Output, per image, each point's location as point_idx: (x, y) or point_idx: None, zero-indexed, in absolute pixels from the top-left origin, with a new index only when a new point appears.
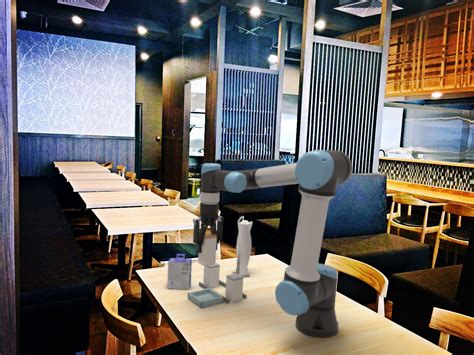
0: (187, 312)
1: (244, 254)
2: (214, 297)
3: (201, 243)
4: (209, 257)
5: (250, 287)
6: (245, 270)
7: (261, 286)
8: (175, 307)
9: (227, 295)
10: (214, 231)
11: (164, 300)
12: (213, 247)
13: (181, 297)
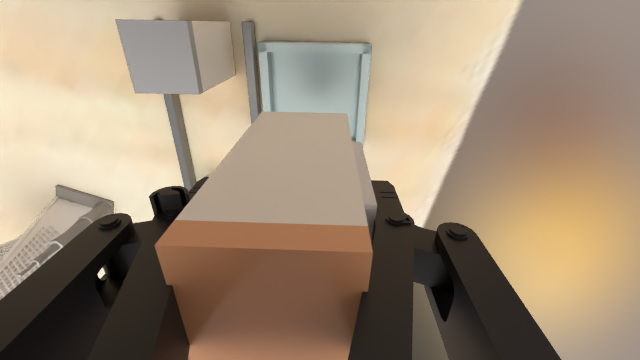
0: (432, 41)
1: (4, 256)
2: (276, 92)
3: (398, 222)
4: (308, 130)
5: (94, 106)
6: (58, 211)
7: (44, 90)
8: (438, 104)
9: (229, 61)
10: (151, 332)
11: (430, 170)
12: (256, 162)
13: (370, 162)
